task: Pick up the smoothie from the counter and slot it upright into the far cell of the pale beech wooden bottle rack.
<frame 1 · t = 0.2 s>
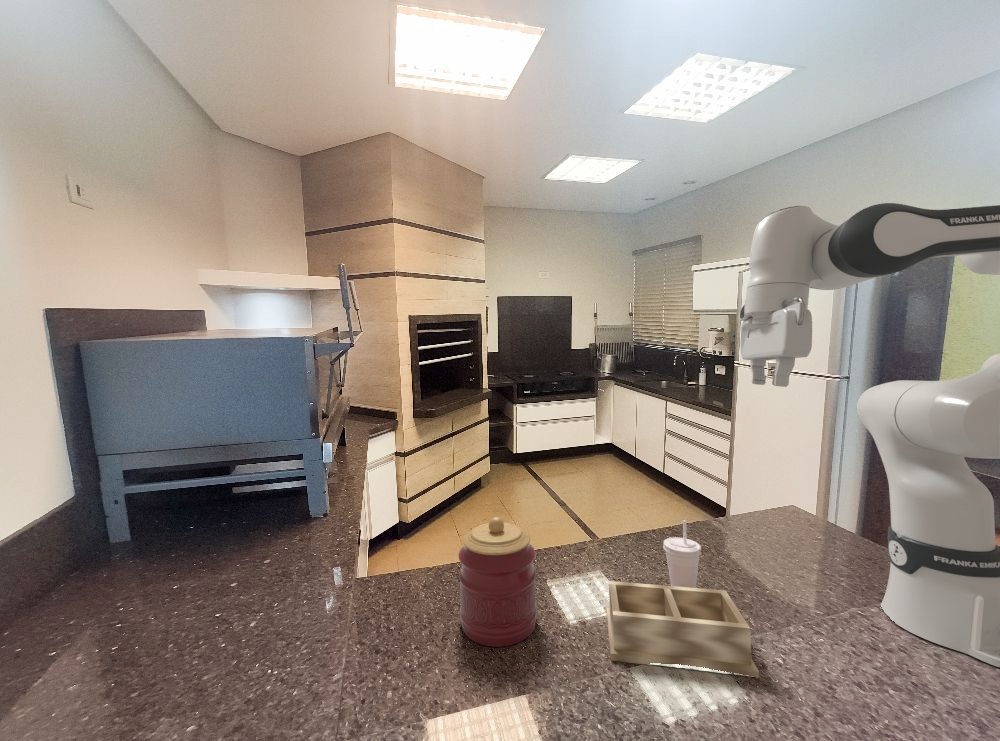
hand: (768, 385, 68), 39 cm above the countertop, tool pointing down, fingers open, 8 cm apart
canister: (498, 623, 66), on the countertop
rack: (673, 641, 60), on the countertop
smoothie: (683, 597, 72), on the countertop
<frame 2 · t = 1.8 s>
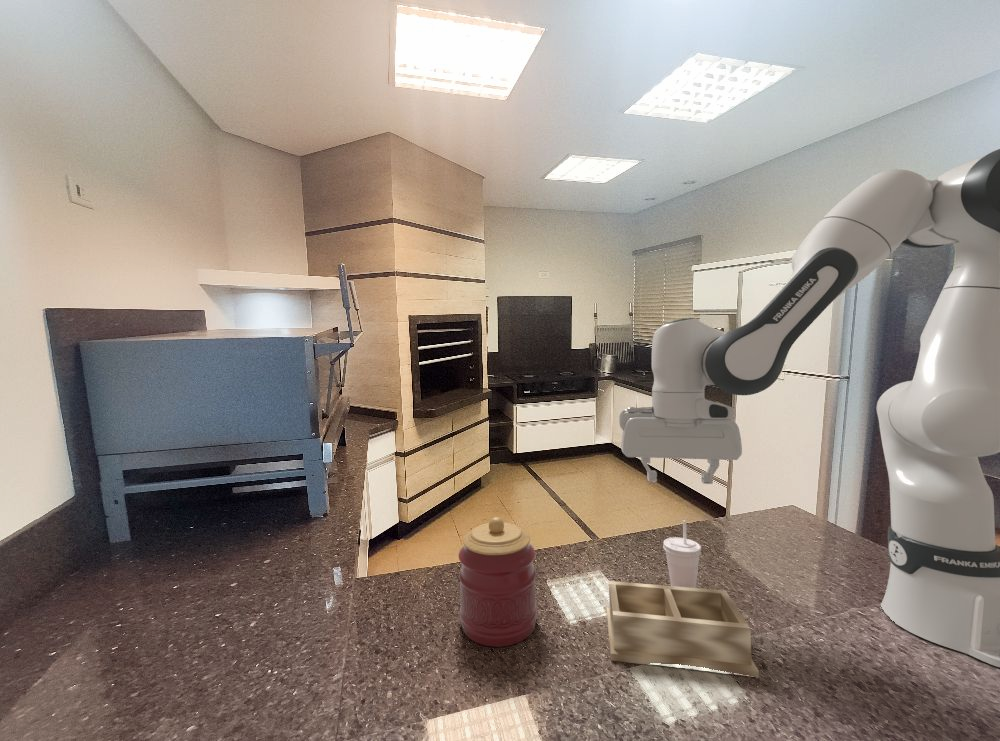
hand: (679, 482, 72), 21 cm above the countertop, tool pointing down, fingers open, 8 cm apart
nothing on the countertop moved.
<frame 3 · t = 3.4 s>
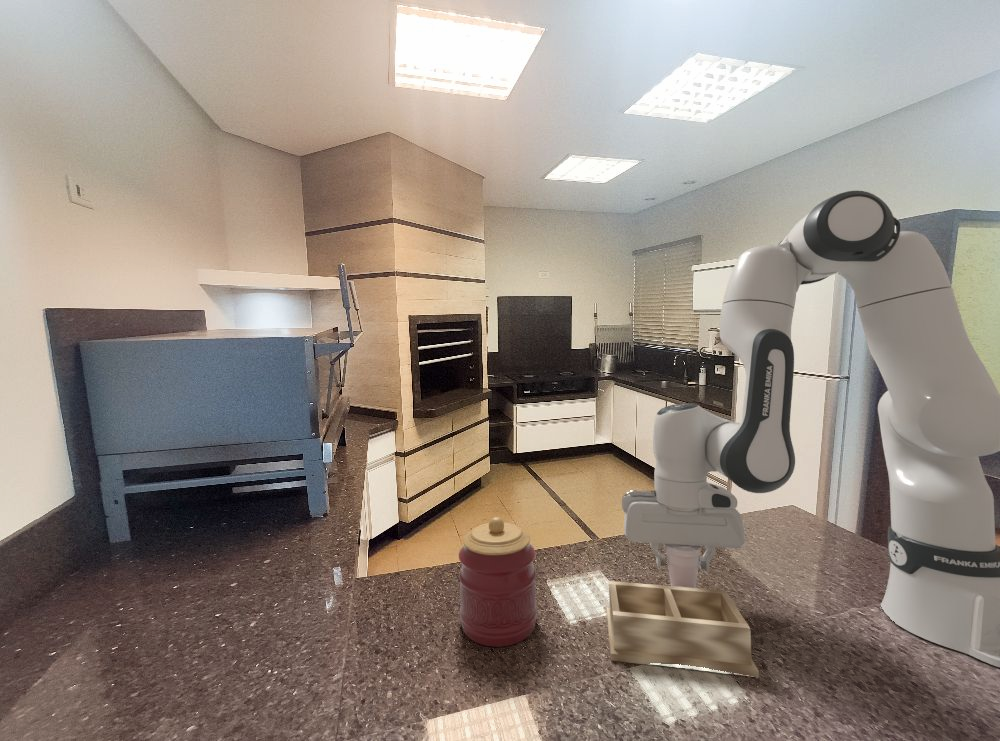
hand: (682, 567, 72), 5 cm above the countertop, tool pointing down, fingers open, 6 cm apart
nothing on the countertop moved.
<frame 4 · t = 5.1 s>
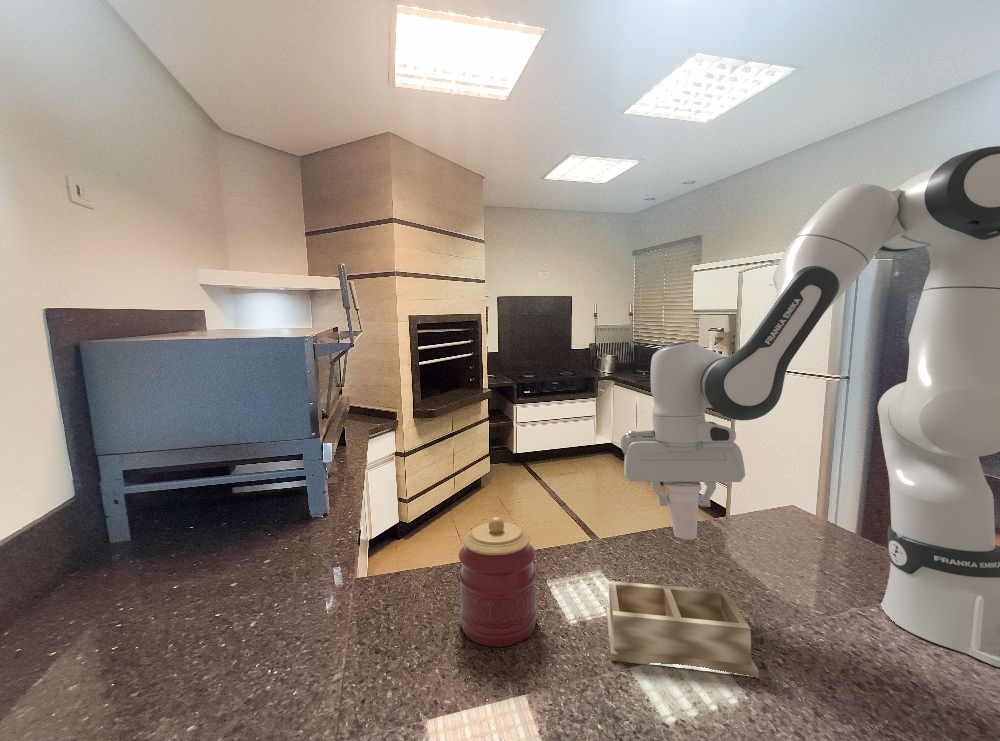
hand: (683, 505, 72), 17 cm above the countertop, tool pointing down, fingers closed on smoothie, 6 cm apart
smoothie: (685, 536, 72), point 11 cm above the countertop, touching gripper
everything else where it was.
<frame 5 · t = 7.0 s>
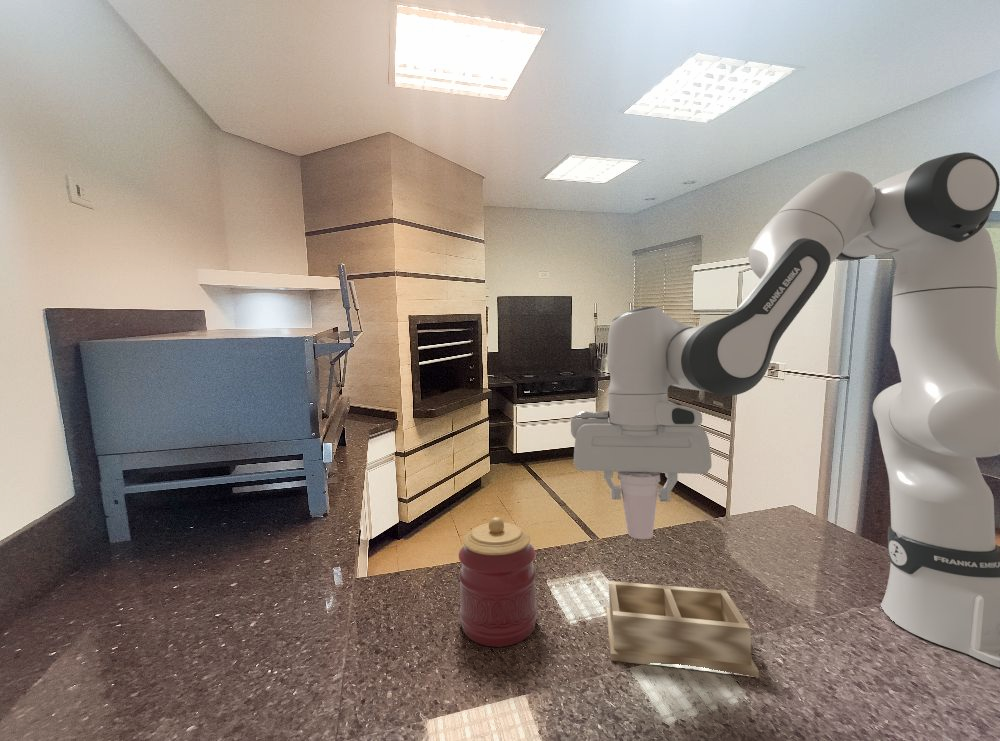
hand: (639, 499, 62), 22 cm above the countertop, tool pointing down, fingers closed on smoothie, 6 cm apart
smoothie: (640, 535, 62), point 16 cm above the countertop, touching gripper
everything else where it was.
when the fingers open (8 cm above the countertop, at t = 9.7 s): smoothie drops 2 cm, resting on rack.
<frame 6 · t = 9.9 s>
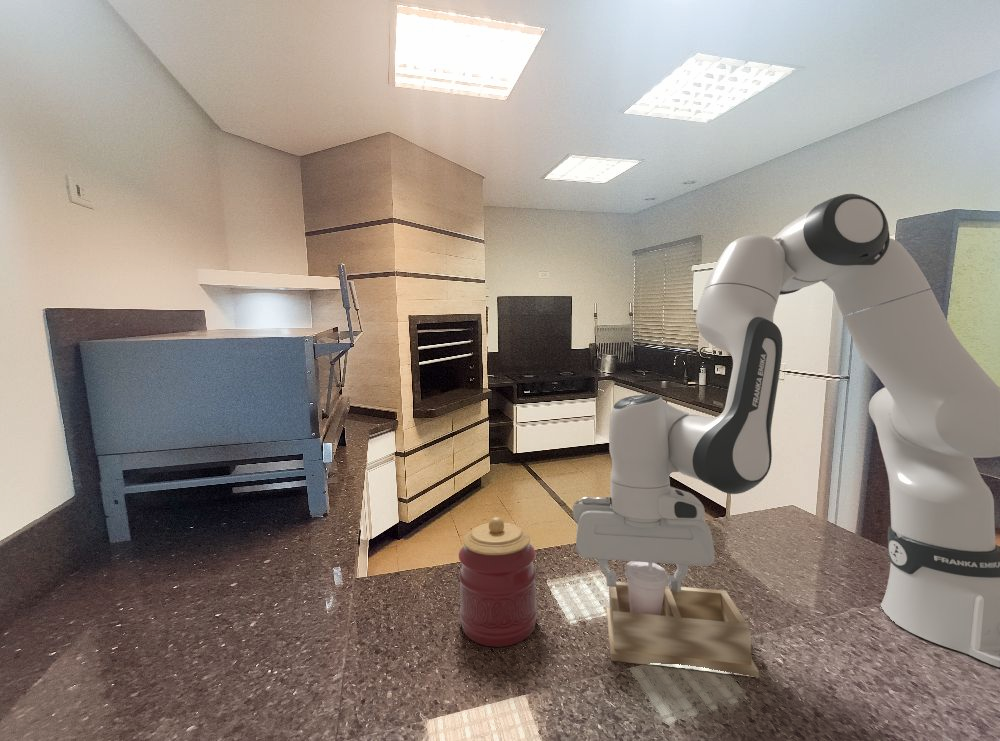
hand: (642, 587, 61), 8 cm above the countertop, tool pointing down, fingers open, 8 cm apart
smoothie: (644, 631, 61), point 1 cm above the countertop, touching rack
everything else where it was.
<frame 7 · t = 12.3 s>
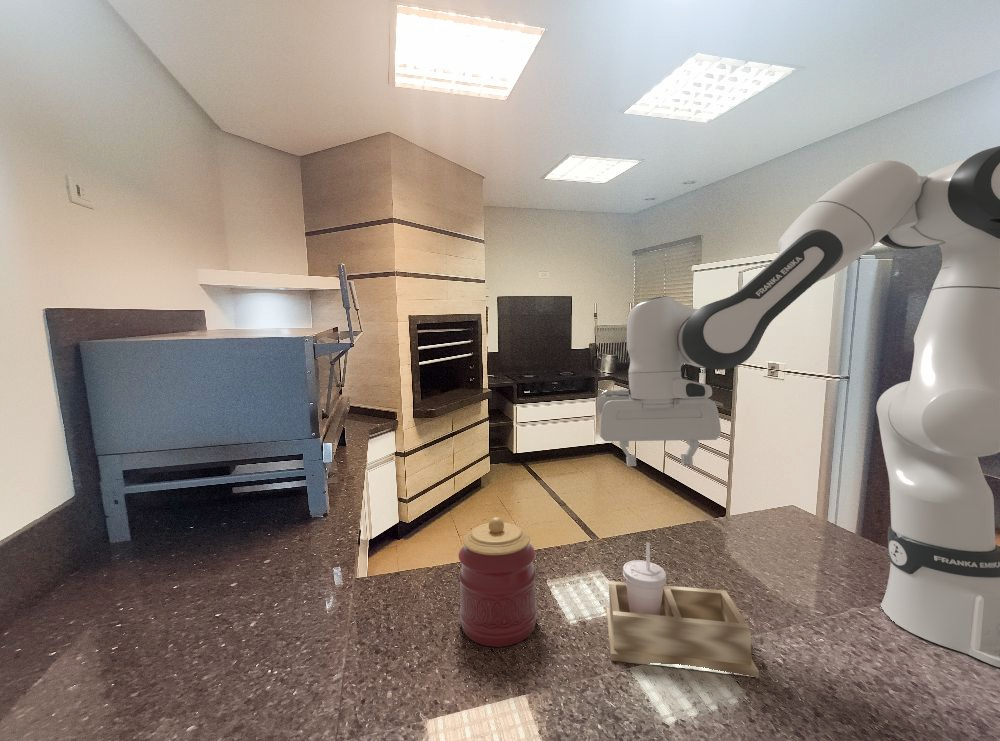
hand: (658, 465, 70), 25 cm above the countertop, tool pointing down, fingers open, 8 cm apart
nothing on the countertop moved.
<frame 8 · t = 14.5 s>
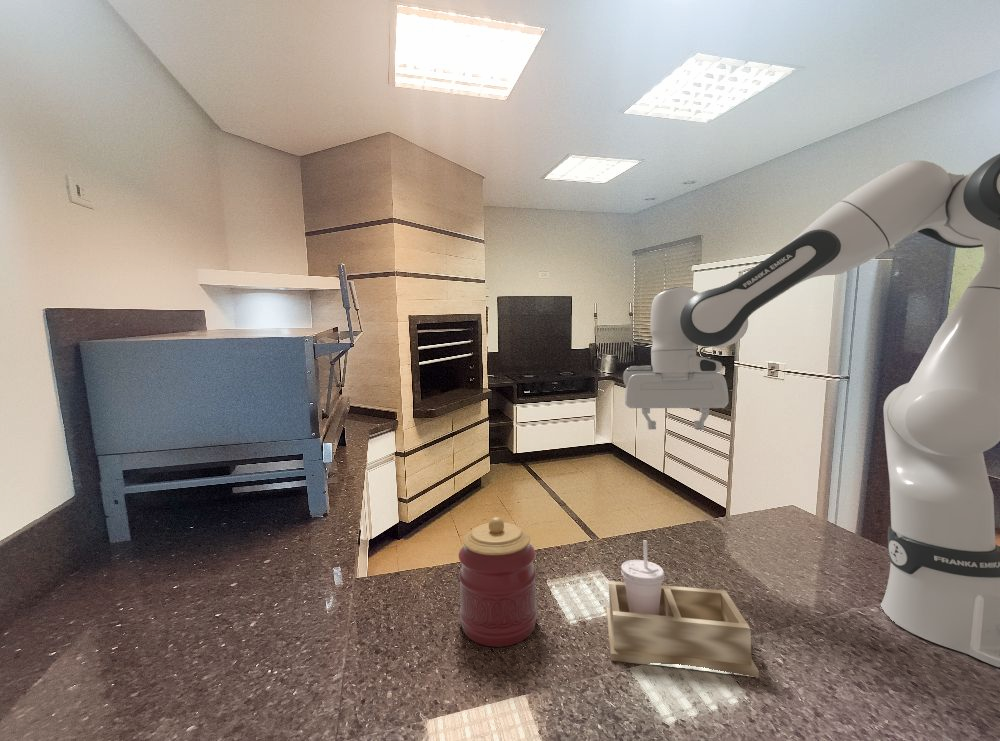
hand: (675, 429, 84), 29 cm above the countertop, tool pointing down, fingers open, 8 cm apart
nothing on the countertop moved.
at the end: smoothie 0.1 cm from the target spot on the rack, point 0.9 cm above the rack's base; smoothie tilted 2°; the gripper is holding nothing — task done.
